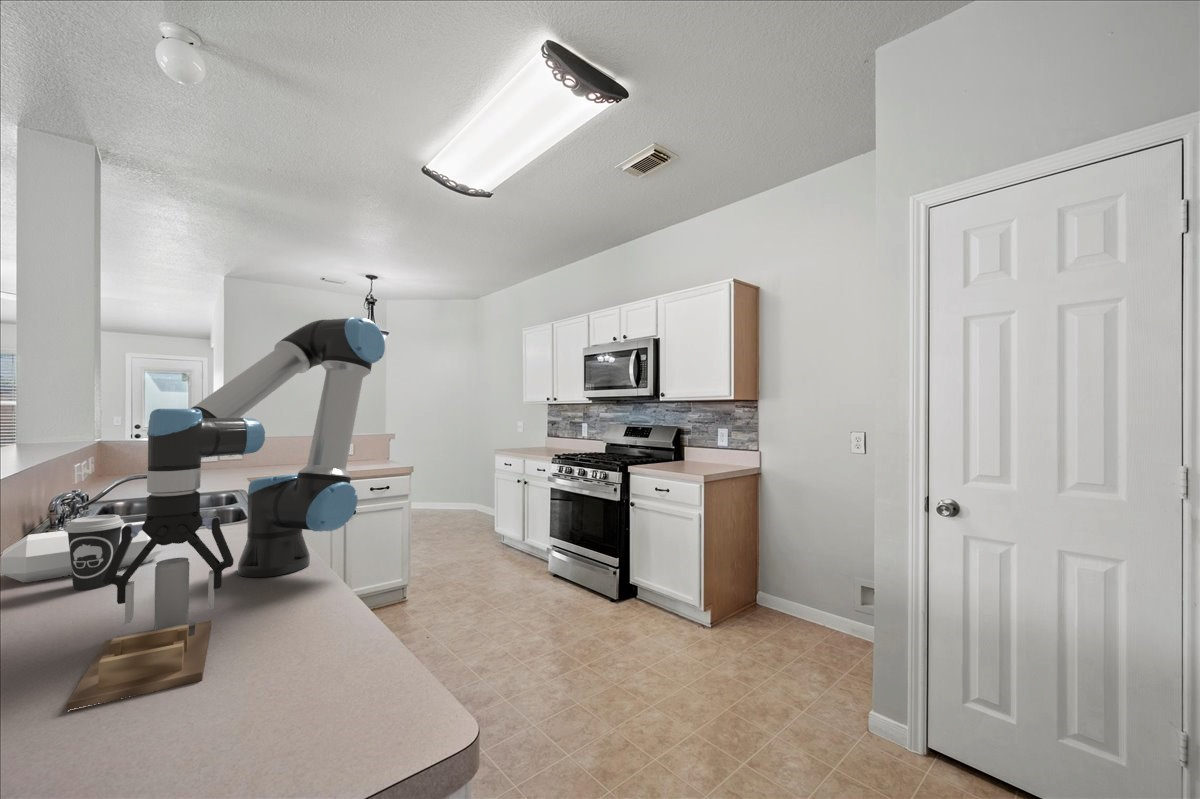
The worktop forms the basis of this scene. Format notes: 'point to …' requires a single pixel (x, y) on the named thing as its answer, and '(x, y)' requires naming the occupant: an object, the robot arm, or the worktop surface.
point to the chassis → (144, 664)
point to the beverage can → (171, 592)
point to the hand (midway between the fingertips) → (171, 613)
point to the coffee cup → (92, 548)
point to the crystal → (57, 555)
